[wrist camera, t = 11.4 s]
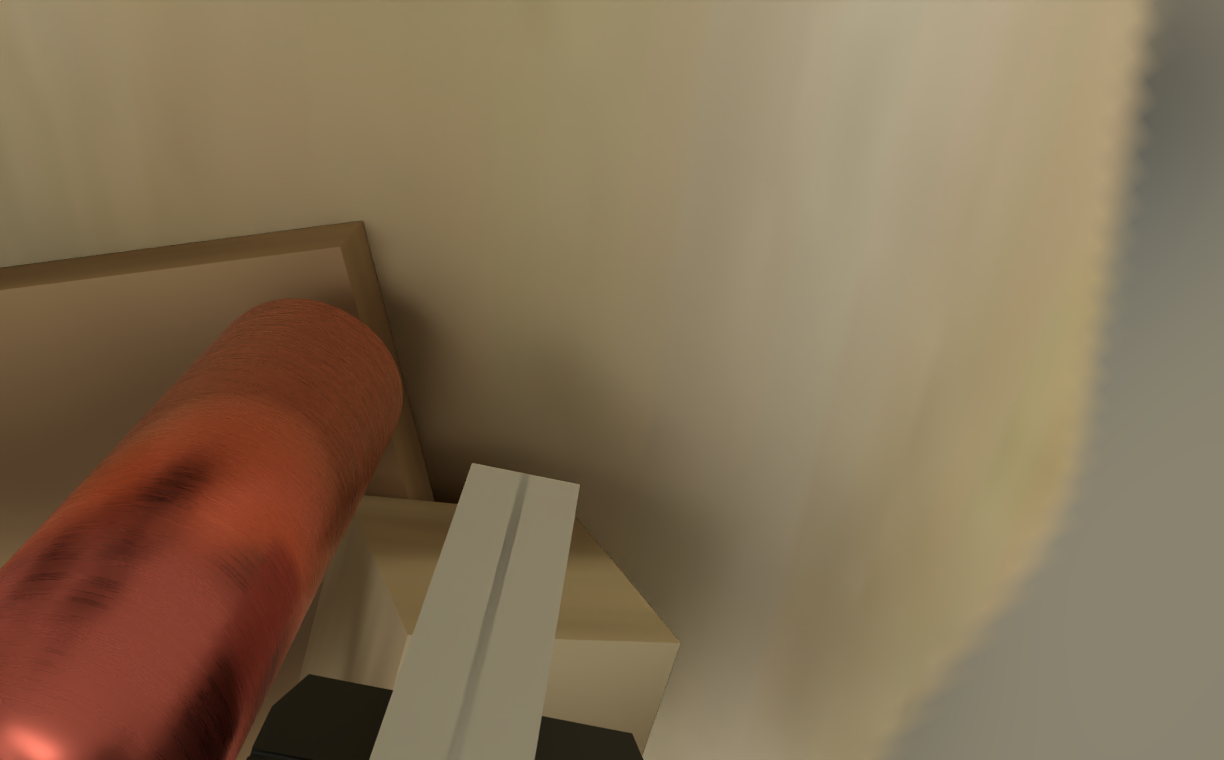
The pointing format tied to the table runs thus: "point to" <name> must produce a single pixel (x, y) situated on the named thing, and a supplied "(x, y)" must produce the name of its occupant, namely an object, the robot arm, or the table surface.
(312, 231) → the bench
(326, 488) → the lever
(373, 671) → the block
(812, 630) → the table surface
